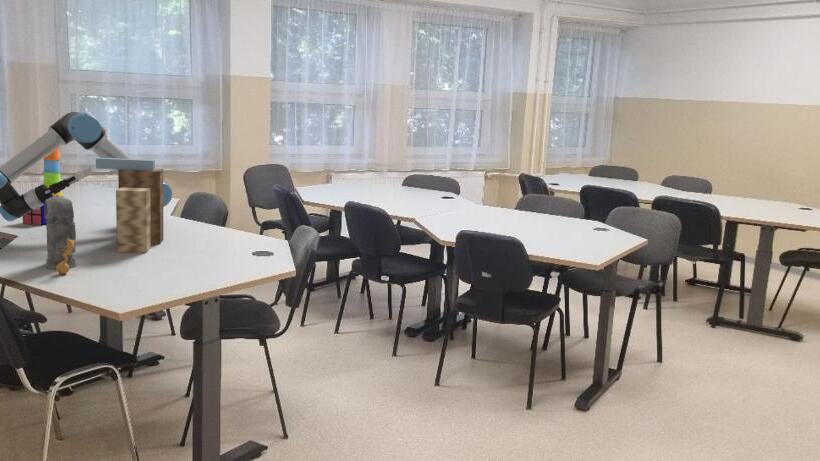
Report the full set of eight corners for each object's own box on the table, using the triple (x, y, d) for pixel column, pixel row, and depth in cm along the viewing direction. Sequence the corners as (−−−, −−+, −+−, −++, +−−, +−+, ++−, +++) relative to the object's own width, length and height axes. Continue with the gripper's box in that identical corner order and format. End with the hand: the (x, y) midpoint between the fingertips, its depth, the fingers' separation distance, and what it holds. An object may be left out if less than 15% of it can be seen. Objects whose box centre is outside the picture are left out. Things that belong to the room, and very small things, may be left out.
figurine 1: (46, 270, 244) (44, 197, 240) (45, 261, 257) (43, 192, 252) (78, 269, 249) (76, 197, 245) (75, 260, 261) (73, 191, 257)
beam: (95, 168, 289) (95, 158, 289) (98, 167, 293) (98, 157, 292) (153, 170, 293) (153, 160, 293) (154, 169, 297) (154, 159, 297)
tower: (119, 243, 294) (118, 169, 289) (123, 239, 302) (122, 167, 297) (160, 244, 297) (159, 171, 292) (163, 239, 305) (163, 169, 300)
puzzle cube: (41, 226, 320) (41, 203, 318) (22, 224, 322) (21, 202, 320) (57, 222, 330) (56, 201, 328) (37, 220, 332) (37, 199, 330)
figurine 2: (53, 272, 243) (52, 237, 241) (72, 270, 247) (71, 235, 245) (59, 277, 237) (58, 241, 235) (79, 275, 241) (78, 240, 238)
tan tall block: (116, 252, 278) (116, 190, 274) (121, 247, 286) (120, 187, 282) (146, 252, 280) (146, 191, 276) (150, 247, 289) (150, 188, 284)
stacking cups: (38, 196, 401) (36, 134, 395) (50, 194, 411) (48, 133, 405) (55, 198, 399) (53, 135, 393) (67, 196, 409) (65, 134, 403)
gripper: (54, 200, 302) (100, 176, 303) (34, 209, 278) (84, 183, 279) (43, 184, 300) (90, 160, 302) (23, 192, 276) (73, 166, 278)
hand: (87, 171), depth 291 cm, fingers open, 13 cm apart
